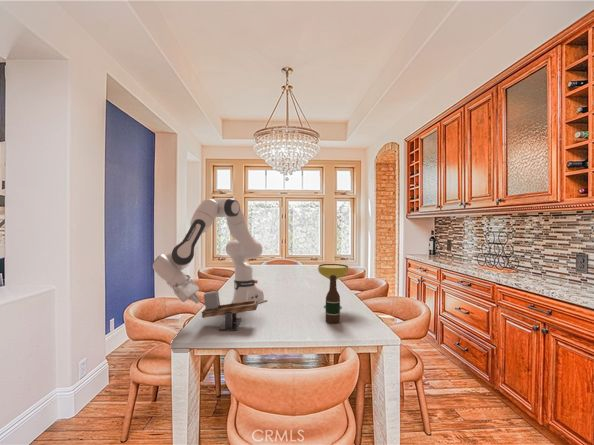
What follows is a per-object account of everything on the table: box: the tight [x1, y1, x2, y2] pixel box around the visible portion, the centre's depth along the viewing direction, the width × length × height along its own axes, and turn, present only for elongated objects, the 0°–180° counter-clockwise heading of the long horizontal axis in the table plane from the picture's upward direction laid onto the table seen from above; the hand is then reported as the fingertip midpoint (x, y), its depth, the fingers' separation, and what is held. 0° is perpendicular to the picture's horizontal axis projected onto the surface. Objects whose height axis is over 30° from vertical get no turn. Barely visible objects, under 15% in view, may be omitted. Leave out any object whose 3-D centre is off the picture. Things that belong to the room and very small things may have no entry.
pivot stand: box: [218, 312, 243, 332], centre depth 166 cm, size 8×17×8 cm, turn 1°
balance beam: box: [201, 300, 259, 319], centre depth 166 cm, size 26×10×3 cm, turn 91°
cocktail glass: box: [317, 263, 349, 310], centre depth 201 cm, size 18×18×25 cm
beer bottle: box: [325, 275, 341, 325], centre depth 173 cm, size 8×8×24 cm
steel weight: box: [203, 290, 221, 311], centre depth 166 cm, size 6×5×9 cm
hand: (198, 302), depth 166 cm, fingers closed
